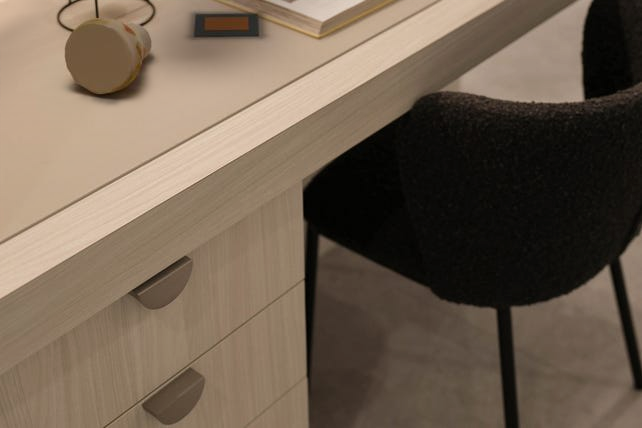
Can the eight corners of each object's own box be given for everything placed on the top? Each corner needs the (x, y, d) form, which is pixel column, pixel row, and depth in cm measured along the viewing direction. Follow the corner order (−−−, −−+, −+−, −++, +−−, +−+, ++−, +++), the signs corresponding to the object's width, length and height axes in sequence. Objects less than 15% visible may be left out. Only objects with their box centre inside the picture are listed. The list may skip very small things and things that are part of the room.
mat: (194, 39, 94) (194, 34, 93) (195, 17, 98) (195, 13, 98) (259, 38, 94) (258, 34, 94) (257, 16, 99) (257, 12, 98)
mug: (172, 55, 91) (166, -2, 82) (128, 129, 87) (116, 78, 78) (108, 28, 91) (94, -32, 82) (62, 100, 88) (42, 46, 79)
